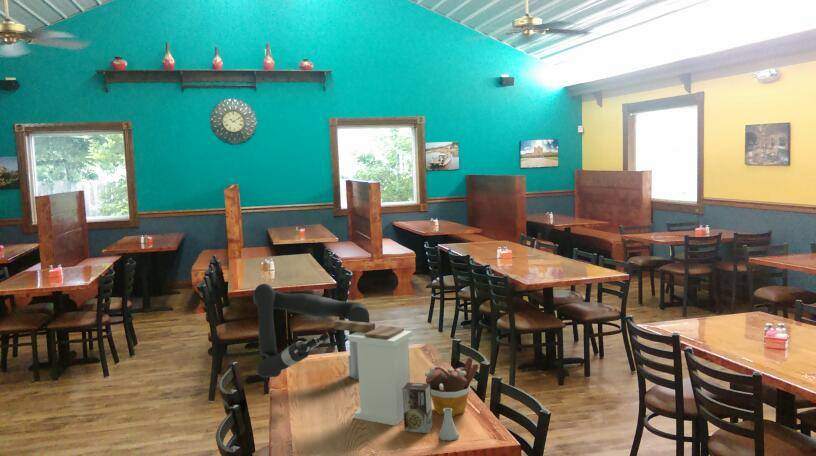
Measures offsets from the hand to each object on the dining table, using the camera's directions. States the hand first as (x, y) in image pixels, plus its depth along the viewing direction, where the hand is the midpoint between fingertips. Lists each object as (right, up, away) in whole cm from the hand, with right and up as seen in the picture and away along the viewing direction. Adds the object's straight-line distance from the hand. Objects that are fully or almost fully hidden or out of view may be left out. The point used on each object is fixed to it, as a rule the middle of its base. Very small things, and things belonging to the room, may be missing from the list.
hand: (321, 337), depth 261 cm
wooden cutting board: (+18, +4, -11) cm, 21 cm away
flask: (+49, -30, -32) cm, 65 cm away
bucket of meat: (+51, -27, -8) cm, 58 cm away
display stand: (+25, -28, -10) cm, 39 cm away
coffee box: (+38, -29, -24) cm, 54 cm away
